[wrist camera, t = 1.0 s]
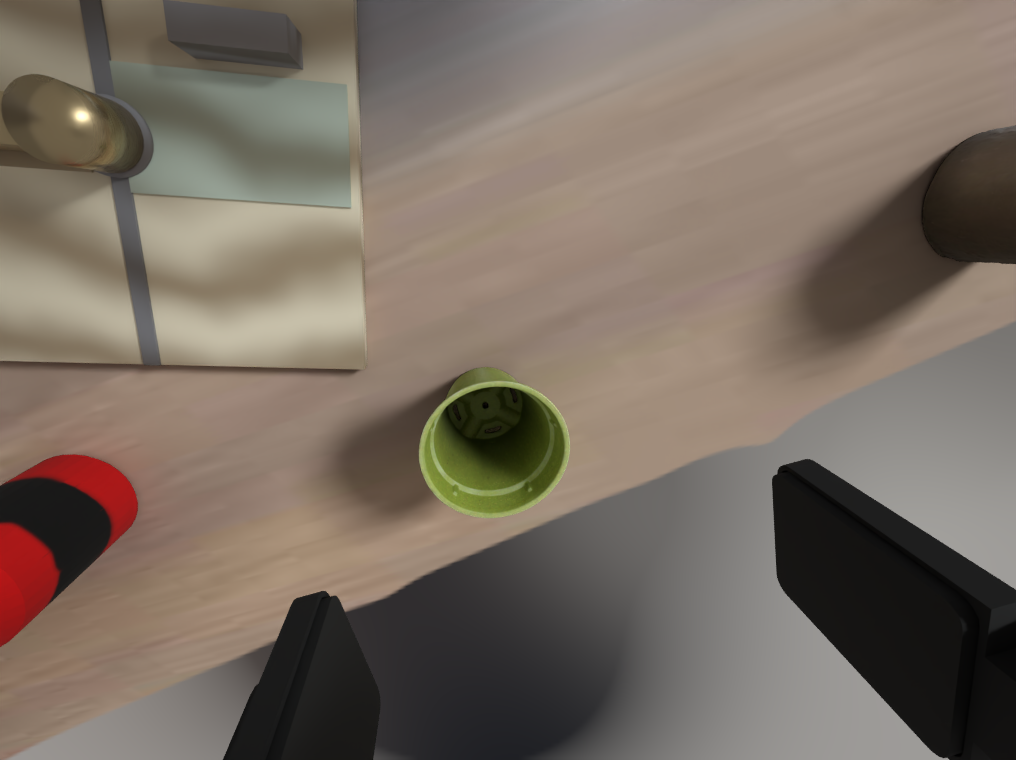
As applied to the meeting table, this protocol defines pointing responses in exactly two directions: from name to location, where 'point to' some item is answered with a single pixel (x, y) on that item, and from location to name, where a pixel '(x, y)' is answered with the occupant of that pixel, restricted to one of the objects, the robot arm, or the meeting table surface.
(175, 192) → the lock board
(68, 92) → the swing bar
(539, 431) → the plant pot
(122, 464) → the meeting table surface
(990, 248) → the pillar candle
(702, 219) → the meeting table surface
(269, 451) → the meeting table surface
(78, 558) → the soda can
